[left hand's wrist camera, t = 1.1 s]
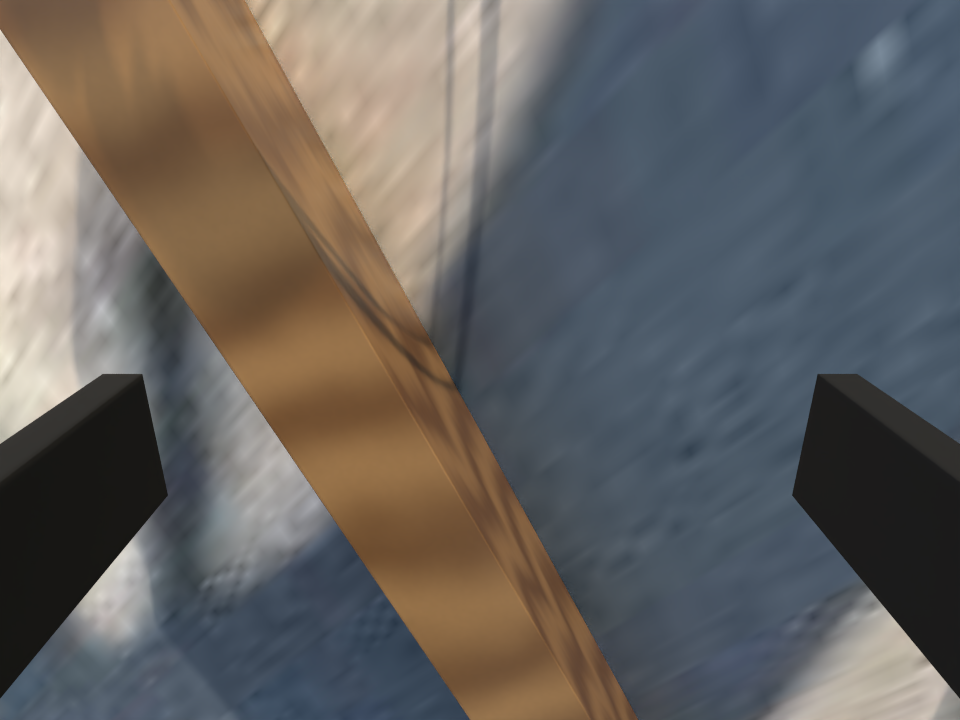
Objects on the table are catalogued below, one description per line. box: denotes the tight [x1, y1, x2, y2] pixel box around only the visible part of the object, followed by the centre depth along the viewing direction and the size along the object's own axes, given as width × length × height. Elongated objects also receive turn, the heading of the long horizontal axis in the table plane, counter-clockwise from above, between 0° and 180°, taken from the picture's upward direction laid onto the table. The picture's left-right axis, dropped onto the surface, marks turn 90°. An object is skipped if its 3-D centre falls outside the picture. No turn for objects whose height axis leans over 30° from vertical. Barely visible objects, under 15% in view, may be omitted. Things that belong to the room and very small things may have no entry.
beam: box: [0, 0, 638, 720], centre depth 35 cm, size 81×6×9 cm, turn 26°
